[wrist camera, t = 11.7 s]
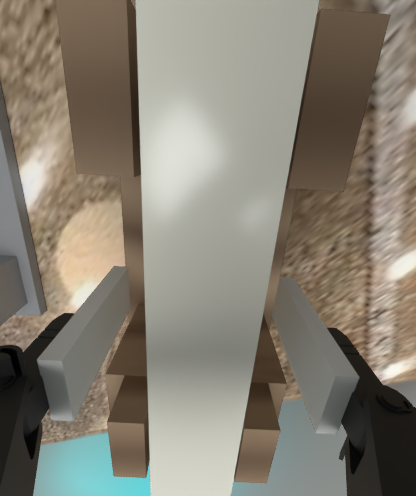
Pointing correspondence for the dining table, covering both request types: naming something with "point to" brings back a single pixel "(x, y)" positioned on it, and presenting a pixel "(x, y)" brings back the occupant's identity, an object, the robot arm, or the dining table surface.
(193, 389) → the white rectangular bar
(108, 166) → the notched wooden cradle
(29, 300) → the stand
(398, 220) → the dining table surface
